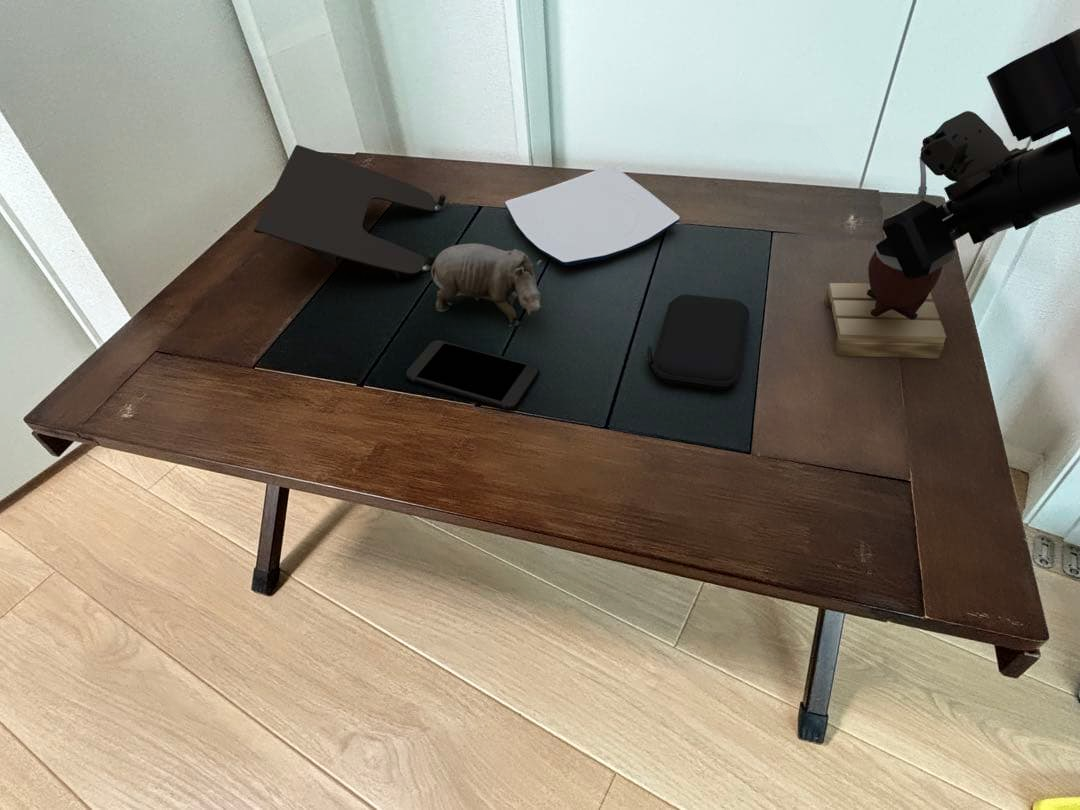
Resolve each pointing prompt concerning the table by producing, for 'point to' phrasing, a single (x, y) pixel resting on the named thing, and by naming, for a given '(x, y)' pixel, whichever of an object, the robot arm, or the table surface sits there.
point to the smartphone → (473, 374)
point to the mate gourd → (899, 278)
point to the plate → (590, 217)
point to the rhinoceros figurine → (486, 277)
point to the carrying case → (701, 342)
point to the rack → (882, 326)
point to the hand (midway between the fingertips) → (896, 238)
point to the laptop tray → (340, 211)
